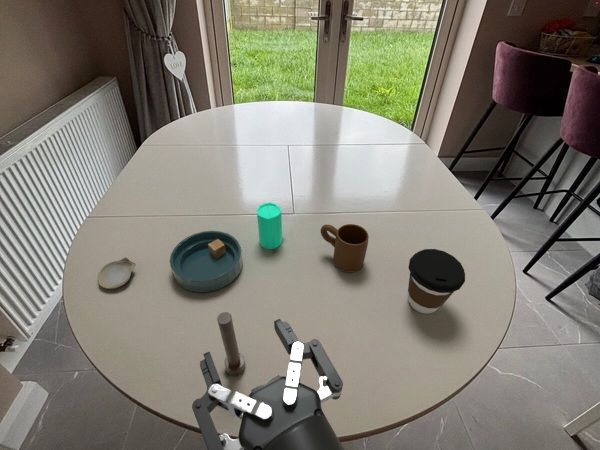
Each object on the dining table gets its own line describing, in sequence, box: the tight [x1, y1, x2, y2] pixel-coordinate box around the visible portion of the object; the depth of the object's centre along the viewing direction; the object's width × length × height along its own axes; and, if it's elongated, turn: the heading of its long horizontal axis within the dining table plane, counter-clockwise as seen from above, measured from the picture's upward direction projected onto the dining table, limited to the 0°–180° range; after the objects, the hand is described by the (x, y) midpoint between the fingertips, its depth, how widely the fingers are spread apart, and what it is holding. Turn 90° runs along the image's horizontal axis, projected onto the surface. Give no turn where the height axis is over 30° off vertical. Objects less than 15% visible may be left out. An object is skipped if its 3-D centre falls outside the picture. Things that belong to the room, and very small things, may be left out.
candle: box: [256, 201, 283, 250], centre depth 84 cm, size 6×6×12 cm
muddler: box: [216, 311, 246, 377], centre depth 57 cm, size 4×4×16 cm
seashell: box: [97, 256, 136, 290], centre depth 77 cm, size 8×3×8 cm
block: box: [208, 239, 226, 259], centre depth 83 cm, size 3×3×3 cm
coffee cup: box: [407, 248, 466, 315], centre depth 70 cm, size 11×11×12 cm
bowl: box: [169, 230, 244, 293], centre depth 79 cm, size 16×16×4 cm
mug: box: [320, 223, 370, 273], centre depth 81 cm, size 12×8×9 cm, turn 59°
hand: (243, 339), depth 38 cm, fingers open, 8 cm apart
